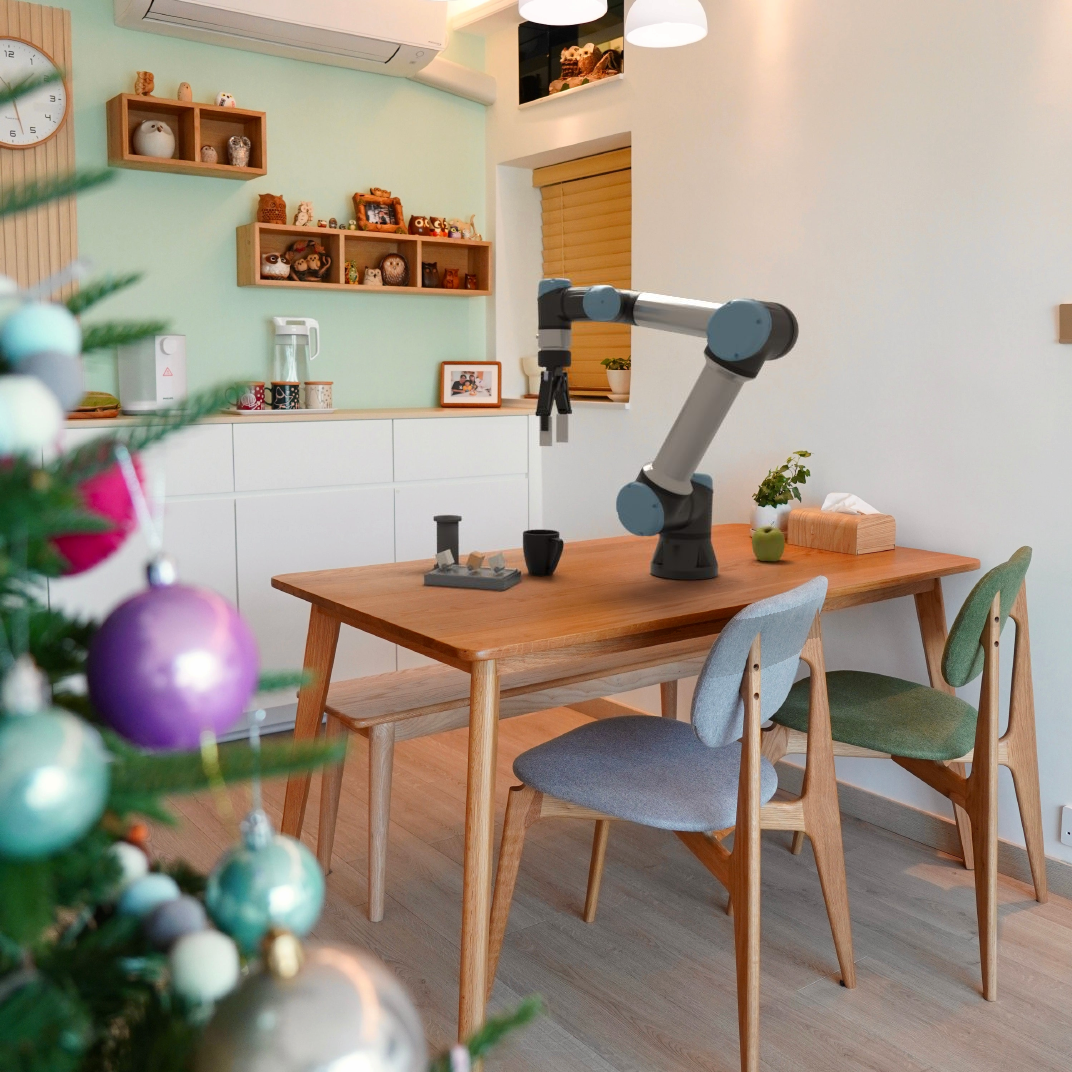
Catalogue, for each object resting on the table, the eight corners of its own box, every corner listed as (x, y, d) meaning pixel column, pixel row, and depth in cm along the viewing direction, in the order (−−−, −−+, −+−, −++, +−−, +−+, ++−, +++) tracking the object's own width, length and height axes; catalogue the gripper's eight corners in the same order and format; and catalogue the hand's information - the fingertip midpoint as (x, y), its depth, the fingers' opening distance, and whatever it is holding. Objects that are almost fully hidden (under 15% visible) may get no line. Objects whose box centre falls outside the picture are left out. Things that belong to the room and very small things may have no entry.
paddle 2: (508, 567, 228) (502, 552, 228) (502, 570, 224) (496, 554, 224) (498, 571, 229) (492, 555, 228) (492, 574, 225) (486, 558, 225)
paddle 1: (456, 564, 231) (450, 548, 231) (449, 567, 228) (443, 551, 228) (446, 567, 232) (440, 552, 232) (440, 570, 229) (434, 555, 229)
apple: (764, 551, 264) (774, 515, 260) (786, 566, 258) (796, 528, 254) (740, 554, 260) (750, 517, 256) (762, 569, 254) (772, 531, 250)
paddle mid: (480, 570, 230) (485, 555, 229) (473, 573, 226) (479, 558, 226) (470, 565, 230) (476, 550, 229) (464, 568, 227) (469, 553, 226)
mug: (544, 581, 231) (544, 538, 229) (515, 572, 241) (516, 530, 239) (575, 577, 235) (576, 535, 233) (546, 569, 245) (546, 528, 244)
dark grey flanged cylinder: (466, 567, 247) (465, 515, 245) (455, 571, 241) (455, 519, 239) (440, 565, 249) (440, 514, 247) (429, 570, 243) (429, 518, 241)
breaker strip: (521, 580, 231) (521, 568, 231) (503, 590, 221) (503, 577, 220) (444, 575, 237) (444, 563, 236) (424, 584, 226) (424, 571, 226)
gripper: (553, 350, 252) (553, 440, 256) (521, 348, 229) (521, 447, 232) (584, 350, 250) (583, 441, 253) (555, 348, 227) (555, 448, 230)
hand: (554, 444), depth 243 cm, fingers open, 13 cm apart
